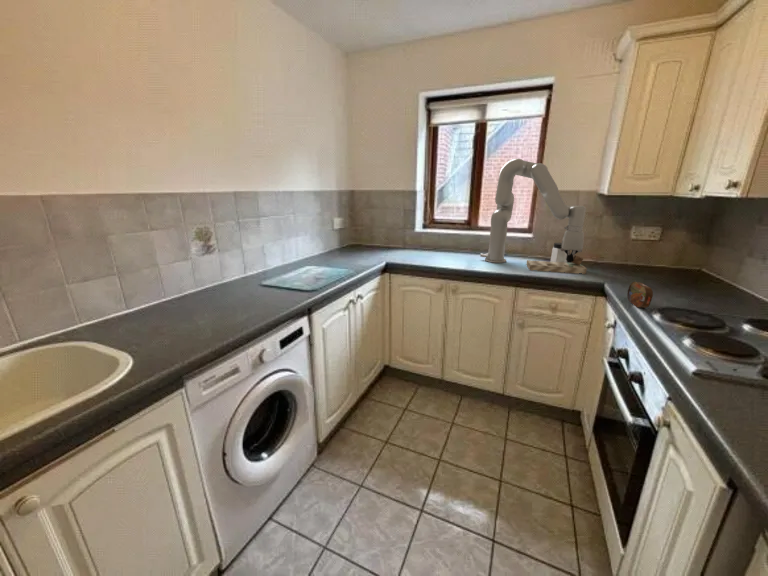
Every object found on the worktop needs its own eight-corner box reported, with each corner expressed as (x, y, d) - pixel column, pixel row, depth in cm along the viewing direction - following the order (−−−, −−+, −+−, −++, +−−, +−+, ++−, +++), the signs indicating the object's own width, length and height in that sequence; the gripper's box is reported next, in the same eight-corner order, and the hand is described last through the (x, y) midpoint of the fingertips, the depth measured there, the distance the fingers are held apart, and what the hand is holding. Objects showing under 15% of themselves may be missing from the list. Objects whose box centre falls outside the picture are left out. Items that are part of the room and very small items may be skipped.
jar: (562, 265, 195) (566, 245, 192) (548, 263, 201) (551, 243, 197) (568, 263, 201) (571, 243, 198) (554, 261, 207) (557, 242, 203)
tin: (625, 298, 137) (629, 278, 134) (633, 299, 136) (638, 279, 134) (640, 310, 123) (646, 289, 121) (650, 311, 122) (656, 290, 120)
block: (572, 262, 183) (576, 256, 181) (570, 261, 186) (574, 254, 185) (579, 265, 182) (583, 258, 181) (577, 263, 186) (581, 257, 184)
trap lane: (529, 270, 183) (530, 264, 182) (526, 265, 195) (526, 260, 194) (585, 273, 176) (586, 268, 175) (578, 268, 188) (579, 263, 187)
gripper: (561, 229, 178) (556, 262, 183) (592, 230, 174) (586, 264, 180) (558, 227, 185) (553, 259, 190) (587, 228, 181) (581, 261, 187)
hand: (569, 261), depth 185 cm, fingers closed
